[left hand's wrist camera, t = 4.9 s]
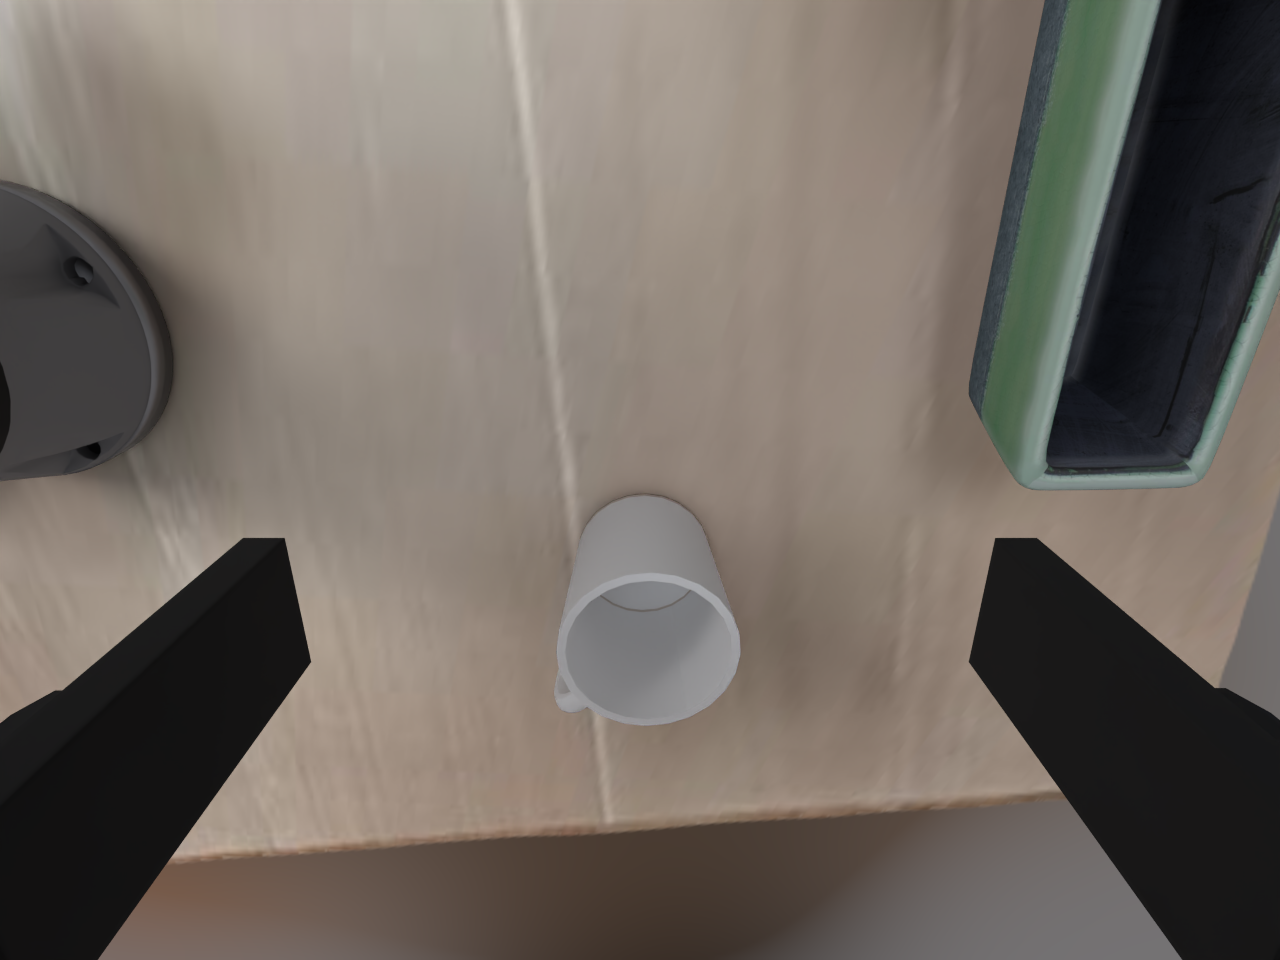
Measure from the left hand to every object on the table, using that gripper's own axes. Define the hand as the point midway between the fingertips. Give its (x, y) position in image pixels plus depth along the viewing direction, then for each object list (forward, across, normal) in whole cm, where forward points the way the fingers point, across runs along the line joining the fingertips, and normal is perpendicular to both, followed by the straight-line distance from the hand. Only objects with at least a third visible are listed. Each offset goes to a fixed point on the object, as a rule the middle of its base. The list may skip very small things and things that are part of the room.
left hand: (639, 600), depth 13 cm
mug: (+27, 0, +14) cm, 30 cm away
